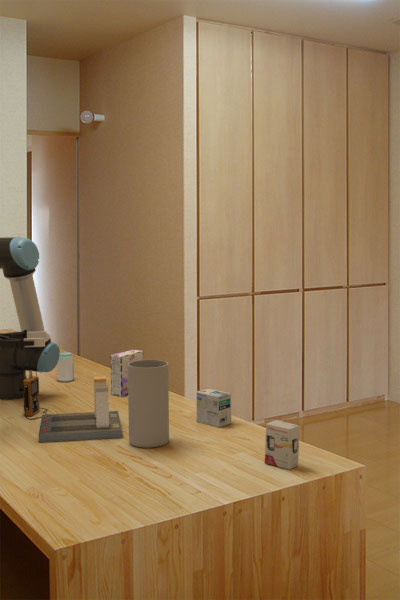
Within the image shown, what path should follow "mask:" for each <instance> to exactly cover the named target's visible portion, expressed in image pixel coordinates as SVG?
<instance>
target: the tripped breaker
mask: <svg viewBox="0 0 400 600" xmlns="http://www.w3.org/2000/svg"><path fill="white" fill-rule="evenodd" d="M106 377H107V376H105V375H104V376H100V375H99V376H93V402H94V403H93V405H94V406H93V407H94V408H93V409H94V410H93V412H95V418H96V394H95V386H100V385H107V378H106Z"/></svg>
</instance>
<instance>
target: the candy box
mask: <svg viewBox="0 0 400 600" xmlns="http://www.w3.org/2000/svg"><path fill="white" fill-rule="evenodd" d="M138 360H144V350H141V349H130V350H126V351H121V352H118V353H113V354H110V384H111V386H110V391H111V393H110V394H111V395H112V396H116V397H121V398H122V397H125V396H128V363H130V362H133V361H138Z"/></svg>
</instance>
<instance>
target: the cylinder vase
mask: <svg viewBox="0 0 400 600" xmlns="http://www.w3.org/2000/svg"><path fill="white" fill-rule="evenodd" d="M169 388H170V387H169V362H168V361H166V360H159V359H143V360H138V361H133V362H130V363H128V395H127V397H128V399H127V401H128V403H127V404H128V441H129V443H130V445H132V446H134V447H137V448H141V447H142V449H145V448H146V449H153V448H159V447H162V446H165V445H166V444H167V443H169V440H170V415H169V414H170V411H169V410H170V407H169V406H170V405H169V403H170V402H169V399H170V395H169V394H170V393H169V392H170V390H169Z"/></svg>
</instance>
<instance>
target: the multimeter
mask: <svg viewBox="0 0 400 600" xmlns="http://www.w3.org/2000/svg"><path fill="white" fill-rule="evenodd" d="M31 359H34V358H31ZM31 359H30V360H31ZM34 360H35V359H34ZM25 362H28V361H25ZM25 362H24V363H25ZM24 363H23V366H24ZM28 363H29V362H28ZM35 363H36V360H35ZM30 364H31V361H30ZM30 364H29V368H30ZM28 372H29V375H28V377H27V379H25V380H23V395H24V397H23V414H24V416H25V418H26V419H27V420H31V421H32V420H37V419H40V418H41V419H42V415H41V416H36V417H34V418H28V417H33V416H34V415H35V414H37V413H39V412H40V411H41V410H44V411H42V413H43V414H44V415H47V414H49V413H47V411H48V409H46V407H45V408H44V407H40V378H39V376H38V375H37V372H35V376H34V375H33V371H32V368H31V371H28ZM22 376H23V369H22ZM40 409H41V410H40Z"/></svg>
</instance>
